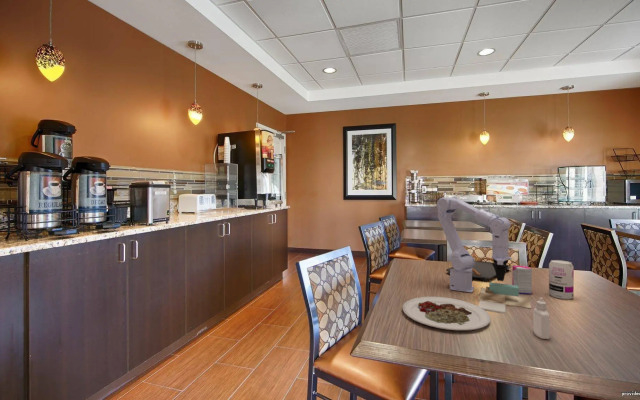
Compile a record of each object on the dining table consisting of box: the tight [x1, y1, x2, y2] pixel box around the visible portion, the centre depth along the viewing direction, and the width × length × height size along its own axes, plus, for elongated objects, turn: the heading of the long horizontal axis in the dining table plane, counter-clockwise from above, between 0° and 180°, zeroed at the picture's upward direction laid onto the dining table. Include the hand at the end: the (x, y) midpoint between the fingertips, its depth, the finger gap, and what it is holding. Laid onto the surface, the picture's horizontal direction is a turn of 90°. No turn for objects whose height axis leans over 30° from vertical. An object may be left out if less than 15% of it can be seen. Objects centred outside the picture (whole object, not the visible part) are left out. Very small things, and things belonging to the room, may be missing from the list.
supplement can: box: [548, 259, 575, 301], centre depth 127 cm, size 8×8×15 cm
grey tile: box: [477, 300, 506, 315], centre depth 117 cm, size 9×9×1 cm
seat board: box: [478, 286, 532, 310], centre depth 125 cm, size 18×12×4 cm, turn 58°
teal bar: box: [488, 281, 520, 297], centre depth 125 cm, size 10×4×4 cm, turn 58°
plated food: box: [402, 296, 491, 331], centre depth 111 cm, size 30×30×3 cm
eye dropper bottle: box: [532, 297, 551, 340], centre depth 94 cm, size 4×6×12 cm
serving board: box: [445, 256, 512, 283], centre depth 168 cm, size 39×23×6 cm, turn 131°
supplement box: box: [511, 265, 533, 295], centre depth 134 cm, size 6×6×12 cm
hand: (500, 278), depth 125 cm, fingers open, 7 cm apart
